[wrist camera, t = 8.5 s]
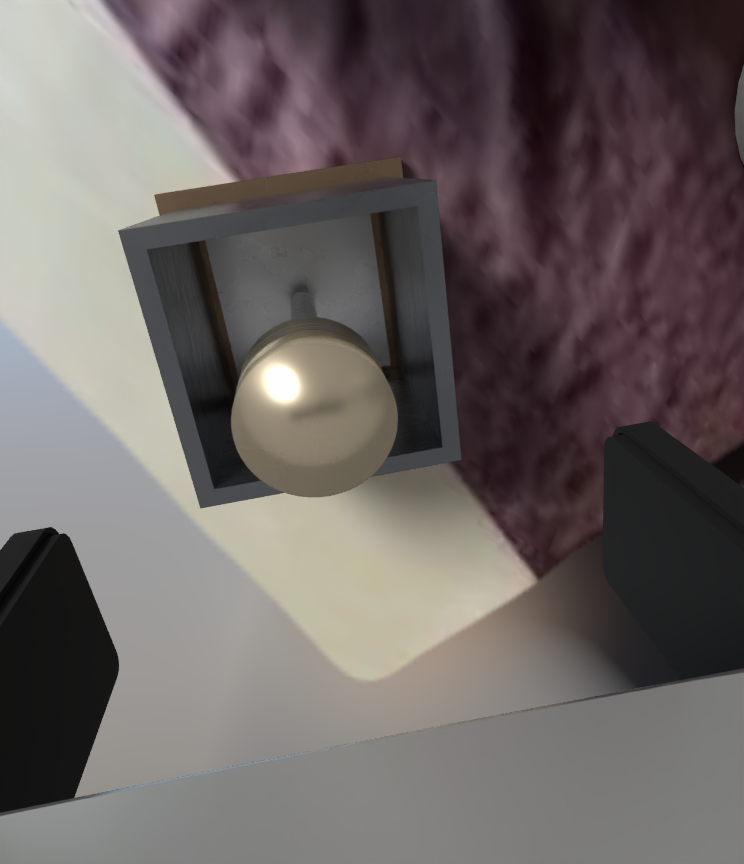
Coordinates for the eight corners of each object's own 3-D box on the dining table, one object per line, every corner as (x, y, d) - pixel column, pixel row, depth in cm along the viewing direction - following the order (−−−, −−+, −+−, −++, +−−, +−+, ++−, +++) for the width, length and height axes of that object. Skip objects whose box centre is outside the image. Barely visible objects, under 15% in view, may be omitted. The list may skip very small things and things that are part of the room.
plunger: (367, 206, 30) (449, 245, 15) (388, 360, 34) (473, 523, 18) (205, 232, 30) (117, 299, 14) (242, 386, 33) (203, 575, 18)
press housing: (397, 156, 31) (457, 150, 20) (422, 380, 36) (482, 473, 25) (158, 194, 30) (84, 208, 19) (217, 417, 35) (185, 529, 24)
